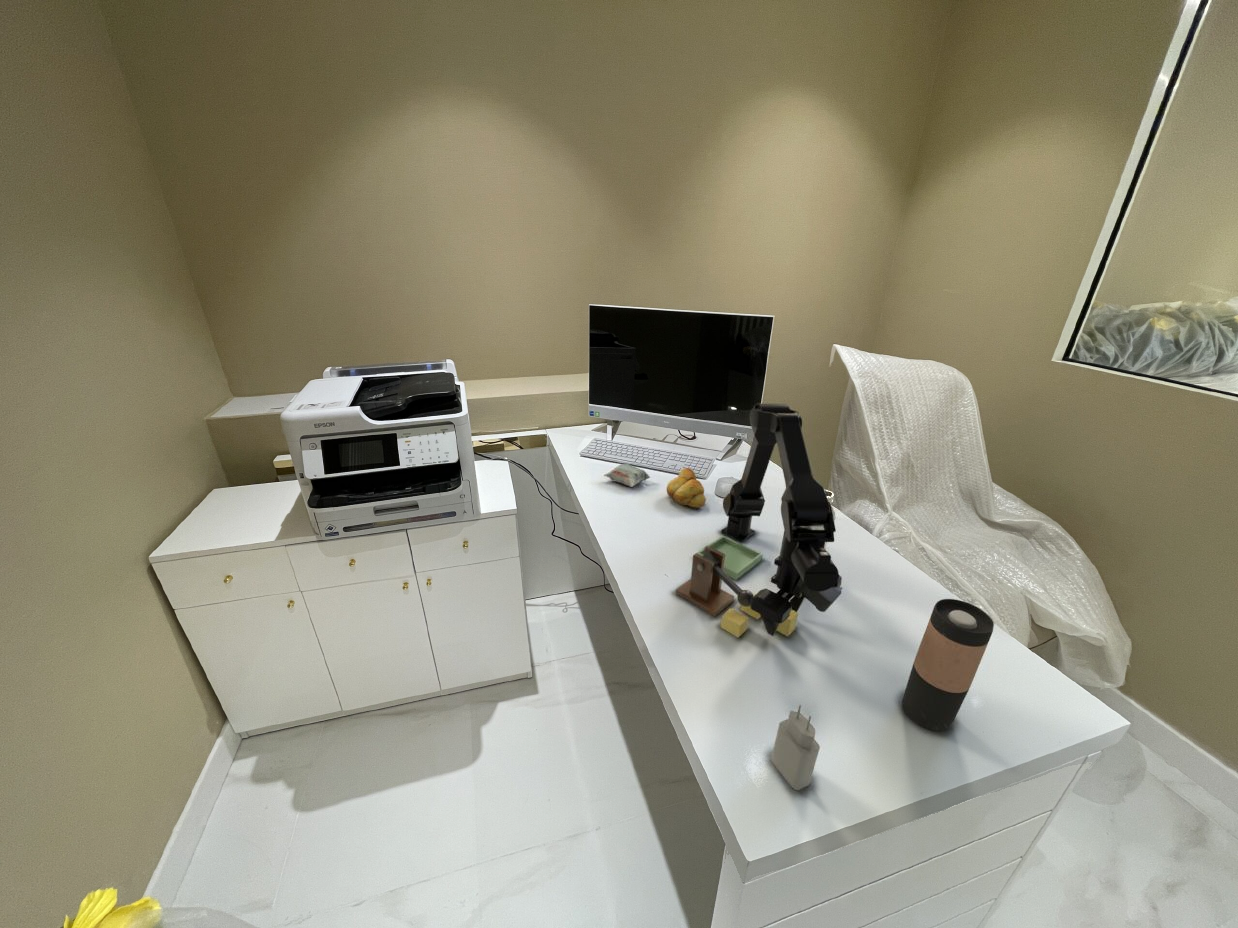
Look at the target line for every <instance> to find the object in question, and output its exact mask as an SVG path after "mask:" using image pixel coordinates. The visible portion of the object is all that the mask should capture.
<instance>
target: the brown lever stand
mask: <svg viewBox="0 0 1238 928" xmlns="http://www.w3.org/2000/svg"><path fill="white" fill-rule="evenodd" d="M704 548H705V551H704V555H705V554H706V553H708V552H710V553H711V554H712V555H713V556H714V557H715V558H716V559H717V560H718V561H719V562H718V563H717V566H718V567H719V568H720V569H721V570H722V571H723V568H724V561H725V554H724V553H722V552H720V551H718V550H716V549H714V548H712V547H709V546H708V545H705V546H704ZM697 553H698V552H696V553H694V554H693V556H692V564H691V573H690V579H688V580H687V581H686V582H684V583H683V584H681V585H679V586H678V587H677V588H676V589H675V595H677V596H678V597H680V598H682V599H684V600H685V601H687V602H689V603H691V604H692V605H694V606H696V607H697V608H699V609H701V610H703V611H704V612H706V613H708V614H709V615H711V616H712V617H716V616H718V615H719V614H720V613H721V612H722V611H723V610H725V609H726V608H728V606H729V605H731V604H732V603H733V602H734V600H735V595H733V594H731V593H729V592H727V591H725V590H723V589H722V583H723V581H722V580H721V579H720V578H719V577H718V576H717V575H716V574H715V573H714V572H713V567H714V562H712V561H711V560H709V559H707V558H705V557H703V556H701V555H699V554H697Z"/></svg>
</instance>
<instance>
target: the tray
mask: <svg viewBox="0 0 1238 928" xmlns="http://www.w3.org/2000/svg"><path fill="white" fill-rule="evenodd" d="M707 546H709V547H712V548H714V549H716V550H718V551H720V552H722V553H724V554H725V561H724V568H723V572H724V573H725V574H726V575H727V576H729V577H730V578H731V579H732V580H735V581H738V580H739V578H741V577H742V576H743V575H745V574H746V573H747V572H749V571H750V570H751V569H752V568H754V567H755V566H756V565H758V564H759V563H760V562H761V561H762V559H763V553H761V552H759V551H757V550H755V549H752V548H751V547H748V546H746V545H744V544H742V543H740V542H737V540H733V539H731V538H729V537H727V536H725V535H722V536H720V537H719V538H717V539H716V540H714V541H713V542H711V543H710V544H708V545H707ZM704 551H705V547H704V548H702V549H701V550H699V551H698V552H696V553H697V554H699V555H701V556H703V555H704Z"/></svg>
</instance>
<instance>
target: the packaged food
mask: <svg viewBox="0 0 1238 928" xmlns="http://www.w3.org/2000/svg"><path fill="white" fill-rule="evenodd" d="M603 477H606V478H609V479H610V480H612V481H615V482H618V483H621V484H622V485H625V486H628V487H631V488H632V487H634V486H636V485H638V484H640V483H642V482H644V481H646V480H648V479H650V478H651V476H650V475H649V474H648V473H647V472H646V471H645V470H644V469H642V468H638V467H636V466H633V465H631V464H628V463H622V464H619V465H617V466H616V467H614V468H613V469H611V470H610V472H606V473H604V474H603Z"/></svg>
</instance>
